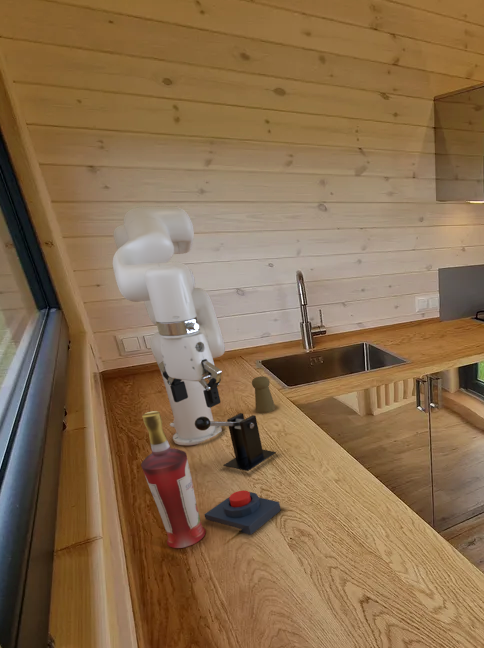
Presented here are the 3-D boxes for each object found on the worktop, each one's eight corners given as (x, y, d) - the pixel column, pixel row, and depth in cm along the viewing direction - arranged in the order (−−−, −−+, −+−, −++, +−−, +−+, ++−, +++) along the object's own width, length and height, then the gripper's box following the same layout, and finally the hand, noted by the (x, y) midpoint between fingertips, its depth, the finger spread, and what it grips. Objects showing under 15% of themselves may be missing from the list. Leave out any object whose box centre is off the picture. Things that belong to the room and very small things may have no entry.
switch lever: (201, 431, 109) (203, 417, 109) (190, 429, 110) (192, 415, 110) (251, 431, 123) (252, 418, 123) (241, 429, 124) (242, 417, 124)
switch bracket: (248, 474, 121) (238, 428, 116) (224, 469, 124) (213, 423, 119) (276, 455, 130) (268, 412, 125) (252, 451, 132) (243, 408, 127)
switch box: (206, 522, 103) (202, 507, 102) (238, 499, 111) (235, 484, 109) (250, 535, 99) (247, 518, 97) (281, 510, 107) (278, 495, 105)
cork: (269, 413, 155) (262, 381, 151) (252, 412, 156) (245, 380, 152) (279, 406, 161) (273, 374, 156) (262, 405, 162) (256, 373, 158)
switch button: (226, 505, 102) (224, 498, 102) (240, 495, 106) (239, 488, 105) (241, 509, 101) (239, 502, 100) (255, 499, 105) (253, 492, 104)
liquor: (169, 535, 99) (130, 410, 88) (209, 526, 102) (176, 403, 91) (165, 558, 93) (122, 426, 82) (207, 547, 96) (171, 418, 85)
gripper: (224, 326, 103) (240, 401, 109) (165, 321, 109) (183, 392, 115) (194, 334, 96) (213, 414, 103) (133, 328, 102) (154, 404, 109)
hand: (197, 402), depth 109 cm, fingers open, 9 cm apart
